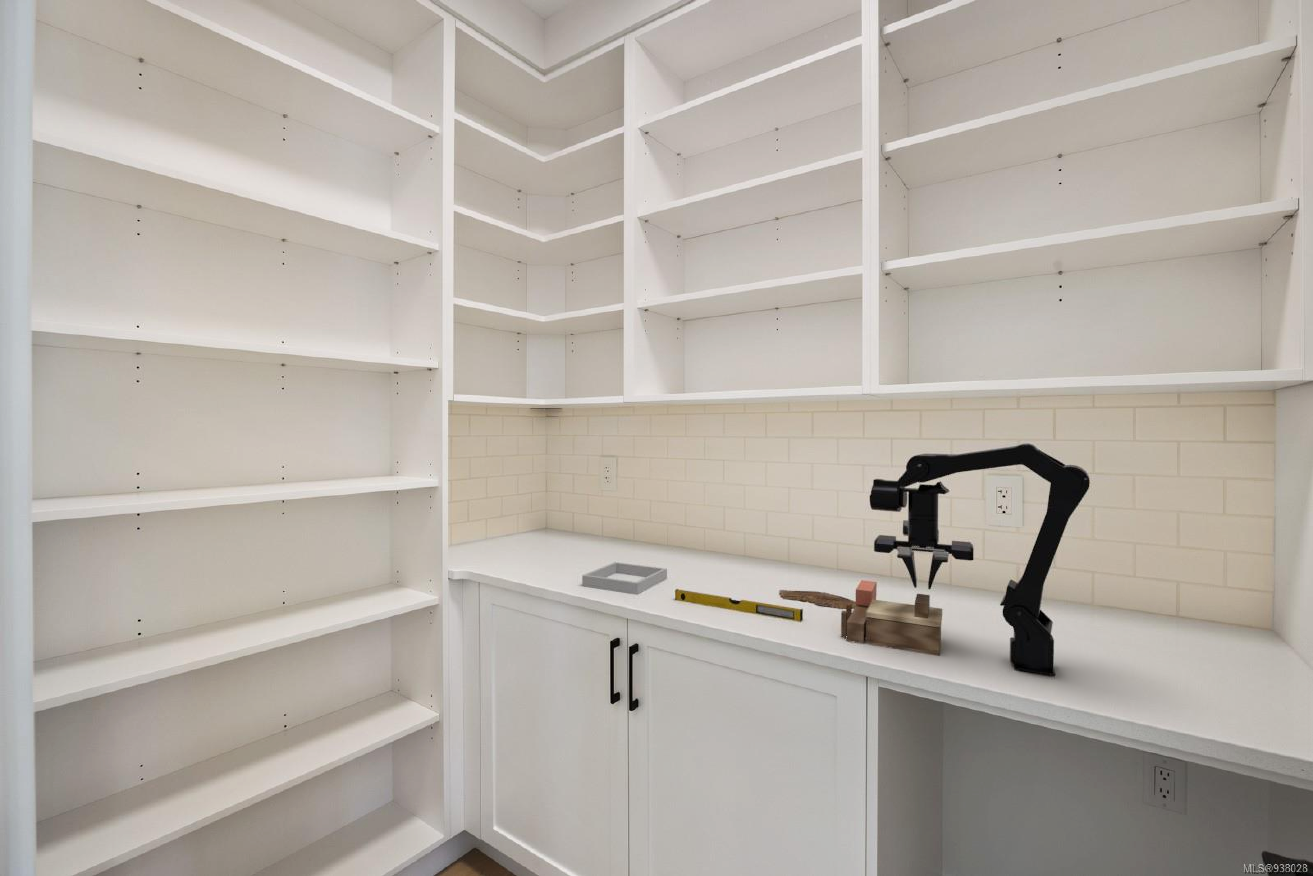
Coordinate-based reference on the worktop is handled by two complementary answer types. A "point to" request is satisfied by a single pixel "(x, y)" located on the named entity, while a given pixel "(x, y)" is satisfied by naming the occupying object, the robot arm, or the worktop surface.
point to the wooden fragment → (818, 598)
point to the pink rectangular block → (866, 592)
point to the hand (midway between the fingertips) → (922, 588)
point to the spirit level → (740, 605)
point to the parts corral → (599, 581)
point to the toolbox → (889, 632)
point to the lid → (907, 611)
